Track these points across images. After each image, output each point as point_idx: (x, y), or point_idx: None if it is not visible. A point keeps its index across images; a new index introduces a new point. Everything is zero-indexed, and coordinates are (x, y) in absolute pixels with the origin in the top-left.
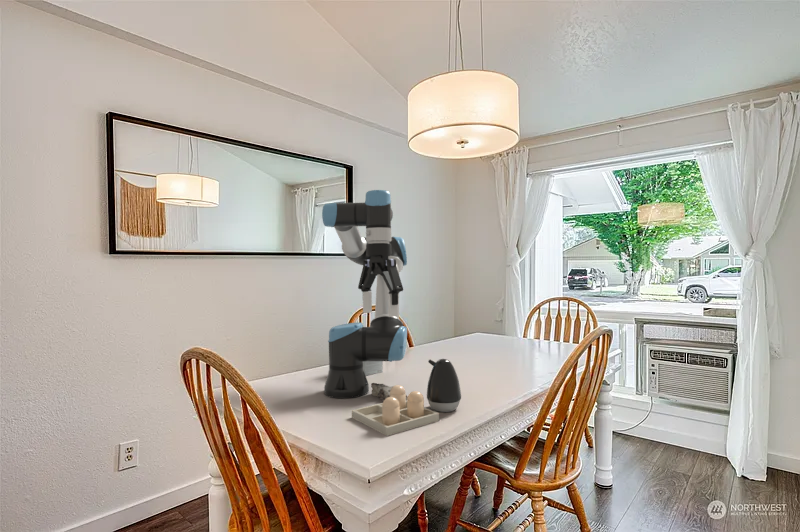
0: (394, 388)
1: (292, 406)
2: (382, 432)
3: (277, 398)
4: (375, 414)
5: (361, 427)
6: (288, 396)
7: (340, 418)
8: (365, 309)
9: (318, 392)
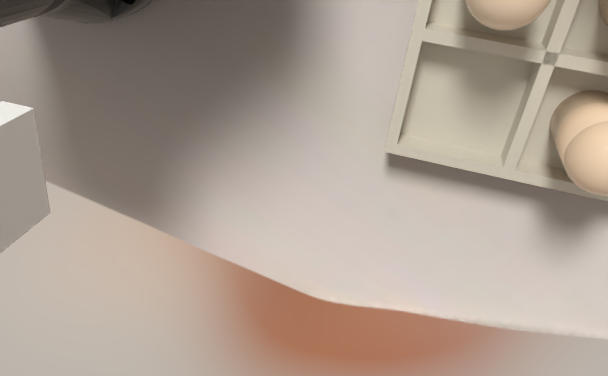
0: (512, 22)
1: (134, 169)
2: None
3: None
4: (437, 62)
5: None
6: None
7: (349, 155)
8: (15, 223)
9: None
